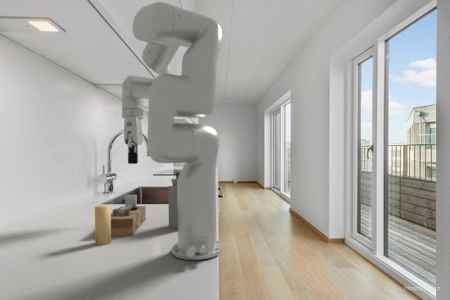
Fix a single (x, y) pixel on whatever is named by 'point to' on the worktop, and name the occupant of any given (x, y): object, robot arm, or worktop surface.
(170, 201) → the perfume bottle
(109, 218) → the peg
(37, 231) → the worktop surface
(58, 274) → the worktop surface
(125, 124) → the robot arm
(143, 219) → the socket block
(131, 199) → the lock pin
